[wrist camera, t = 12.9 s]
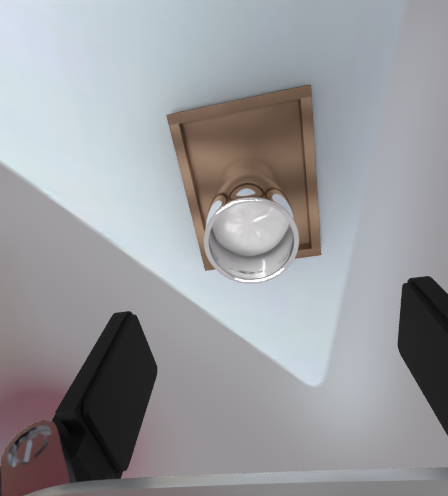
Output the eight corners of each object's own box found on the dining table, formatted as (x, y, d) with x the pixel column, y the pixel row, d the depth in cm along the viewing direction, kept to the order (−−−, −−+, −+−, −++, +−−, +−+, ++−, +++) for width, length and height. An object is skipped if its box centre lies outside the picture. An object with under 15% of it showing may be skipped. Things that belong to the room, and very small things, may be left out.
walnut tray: (171, 113, 33) (166, 115, 30) (305, 85, 31) (310, 84, 28) (207, 260, 40) (205, 270, 38) (316, 245, 38) (321, 254, 36)
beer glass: (205, 191, 35) (181, 251, 22) (243, 140, 32) (242, 172, 19) (253, 226, 37) (257, 302, 23) (293, 180, 34) (324, 236, 21)
